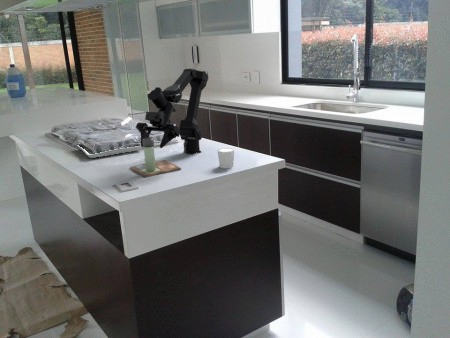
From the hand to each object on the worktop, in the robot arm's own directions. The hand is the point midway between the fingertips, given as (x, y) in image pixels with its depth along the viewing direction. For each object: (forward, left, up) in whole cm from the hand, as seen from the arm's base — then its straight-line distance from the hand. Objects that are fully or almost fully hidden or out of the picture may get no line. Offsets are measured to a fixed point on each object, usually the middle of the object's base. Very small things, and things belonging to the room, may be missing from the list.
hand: (151, 147), depth 173 cm
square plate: (+3, -49, -11) cm, 50 cm away
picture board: (-2, -2, -10) cm, 10 cm away
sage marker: (+1, +1, -9) cm, 9 cm away
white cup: (-27, +14, -10) cm, 32 cm away
